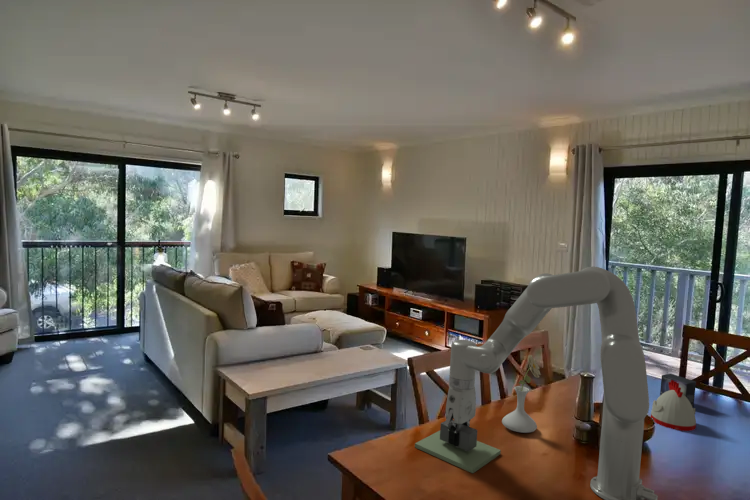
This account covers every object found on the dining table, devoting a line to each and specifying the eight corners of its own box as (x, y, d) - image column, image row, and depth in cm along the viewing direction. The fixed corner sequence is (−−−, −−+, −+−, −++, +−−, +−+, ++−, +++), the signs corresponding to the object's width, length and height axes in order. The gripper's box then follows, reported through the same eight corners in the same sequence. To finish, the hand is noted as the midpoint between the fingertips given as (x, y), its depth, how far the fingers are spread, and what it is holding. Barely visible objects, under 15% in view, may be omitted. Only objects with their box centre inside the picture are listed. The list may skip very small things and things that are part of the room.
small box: (658, 399, 195) (660, 374, 194) (668, 397, 198) (670, 373, 197) (684, 409, 185) (686, 383, 185) (694, 407, 188) (697, 381, 187)
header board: (500, 454, 141) (501, 437, 141) (472, 473, 129) (474, 455, 129) (444, 431, 154) (445, 416, 154) (414, 447, 143) (415, 430, 142)
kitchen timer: (682, 416, 178) (686, 377, 177) (704, 432, 164) (708, 390, 163) (643, 413, 179) (647, 374, 178) (662, 429, 165) (665, 387, 164)
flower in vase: (522, 439, 152) (528, 363, 150) (494, 425, 161) (499, 353, 159) (546, 430, 159) (552, 357, 158) (518, 417, 169) (523, 349, 167)
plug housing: (476, 446, 140) (477, 429, 140) (468, 451, 137) (469, 434, 136) (448, 434, 147) (448, 419, 146) (439, 439, 143) (440, 423, 143)
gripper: (457, 392, 132) (453, 455, 133) (487, 379, 144) (483, 437, 145) (435, 385, 137) (431, 446, 138) (465, 373, 149) (462, 429, 150)
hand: (458, 441), depth 142 cm, fingers closed on plug housing, 4 cm apart
